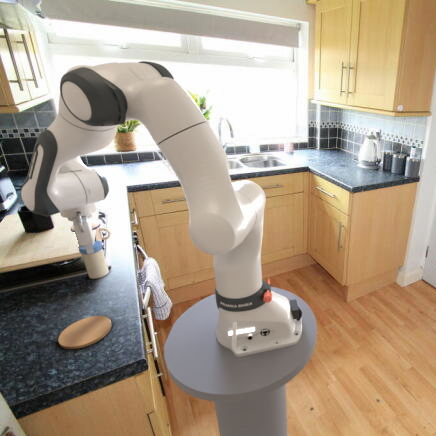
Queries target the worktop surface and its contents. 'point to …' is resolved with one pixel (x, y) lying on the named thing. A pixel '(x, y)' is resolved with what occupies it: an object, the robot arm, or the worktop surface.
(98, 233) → the teacup with lid
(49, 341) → the worktop surface
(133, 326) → the worktop surface
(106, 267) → the jam jar
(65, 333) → the trivet
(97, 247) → the jar lid
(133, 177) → the worktop surface
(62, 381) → the worktop surface
